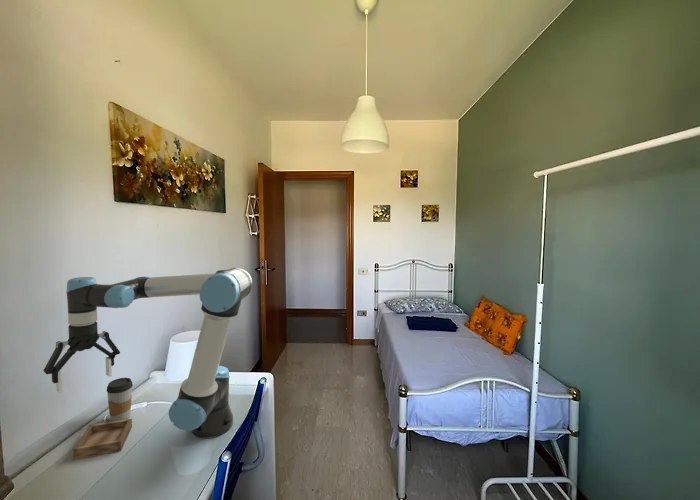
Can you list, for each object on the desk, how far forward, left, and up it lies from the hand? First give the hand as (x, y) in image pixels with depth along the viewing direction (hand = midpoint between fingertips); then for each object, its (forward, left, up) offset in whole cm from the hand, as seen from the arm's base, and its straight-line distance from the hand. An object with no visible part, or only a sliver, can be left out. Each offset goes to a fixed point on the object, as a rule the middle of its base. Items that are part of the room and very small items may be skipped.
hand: (85, 382), depth 109 cm
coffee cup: (-6, -13, -22) cm, 27 cm away
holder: (-6, +1, -22) cm, 23 cm away
